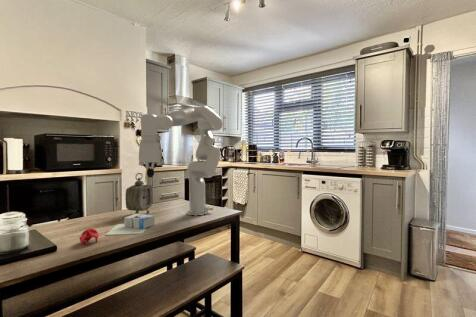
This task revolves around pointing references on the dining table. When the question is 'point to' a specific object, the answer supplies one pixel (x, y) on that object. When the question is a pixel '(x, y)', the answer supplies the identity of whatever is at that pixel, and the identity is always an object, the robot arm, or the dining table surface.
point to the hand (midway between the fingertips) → (150, 177)
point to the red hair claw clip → (88, 235)
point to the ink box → (139, 221)
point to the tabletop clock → (139, 196)
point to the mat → (124, 230)
